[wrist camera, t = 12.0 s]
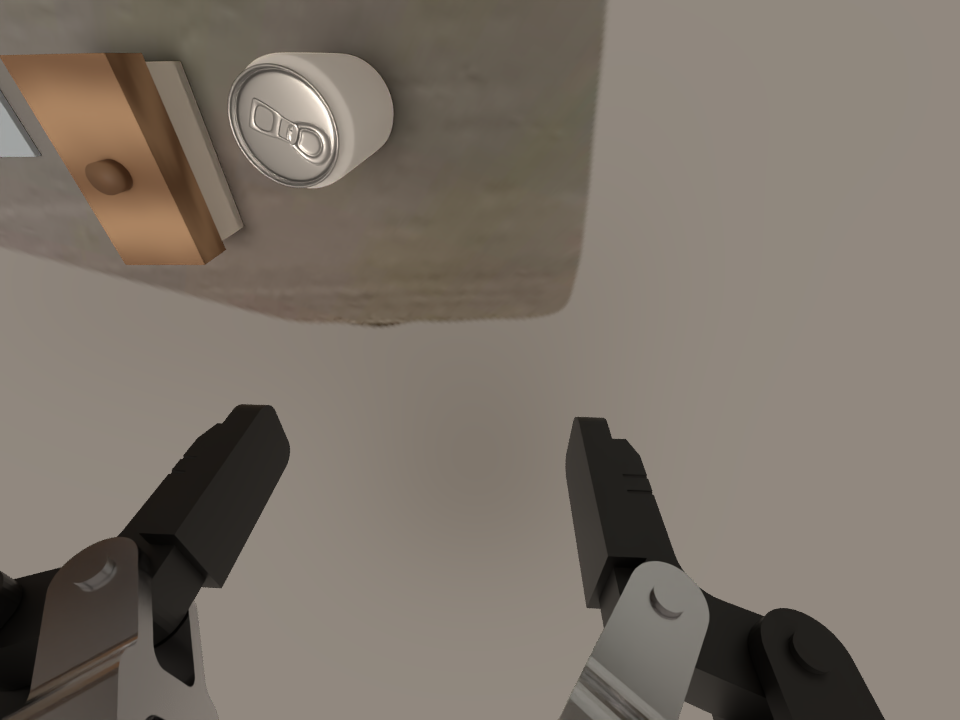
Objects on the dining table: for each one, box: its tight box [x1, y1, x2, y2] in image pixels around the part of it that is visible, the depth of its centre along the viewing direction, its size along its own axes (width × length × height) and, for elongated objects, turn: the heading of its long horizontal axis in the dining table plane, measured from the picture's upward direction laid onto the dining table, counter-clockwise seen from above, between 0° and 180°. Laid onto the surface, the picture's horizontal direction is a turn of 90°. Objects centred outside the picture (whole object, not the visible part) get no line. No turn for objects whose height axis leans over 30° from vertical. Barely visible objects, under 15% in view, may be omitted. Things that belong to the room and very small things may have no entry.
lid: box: [0, 53, 226, 265], centre depth 27 cm, size 13×6×4 cm, turn 1°
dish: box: [146, 61, 244, 241], centre depth 31 cm, size 12×6×4 cm, turn 1°
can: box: [227, 52, 394, 188], centre depth 25 cm, size 6×6×12 cm
